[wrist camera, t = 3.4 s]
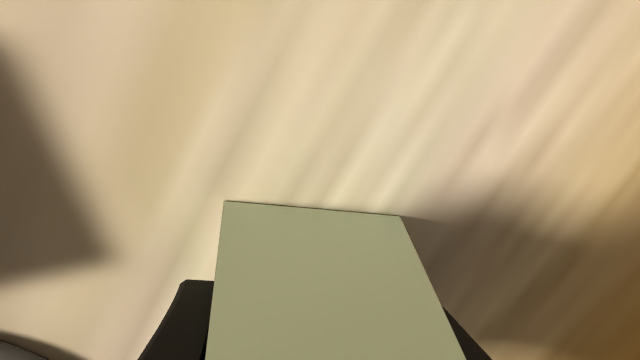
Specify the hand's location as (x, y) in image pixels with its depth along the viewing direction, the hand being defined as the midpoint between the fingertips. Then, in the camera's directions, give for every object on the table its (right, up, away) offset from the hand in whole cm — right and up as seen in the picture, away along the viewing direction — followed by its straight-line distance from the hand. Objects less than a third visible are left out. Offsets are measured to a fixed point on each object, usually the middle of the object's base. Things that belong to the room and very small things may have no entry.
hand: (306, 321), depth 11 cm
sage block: (0, +1, +1) cm, 1 cm away
